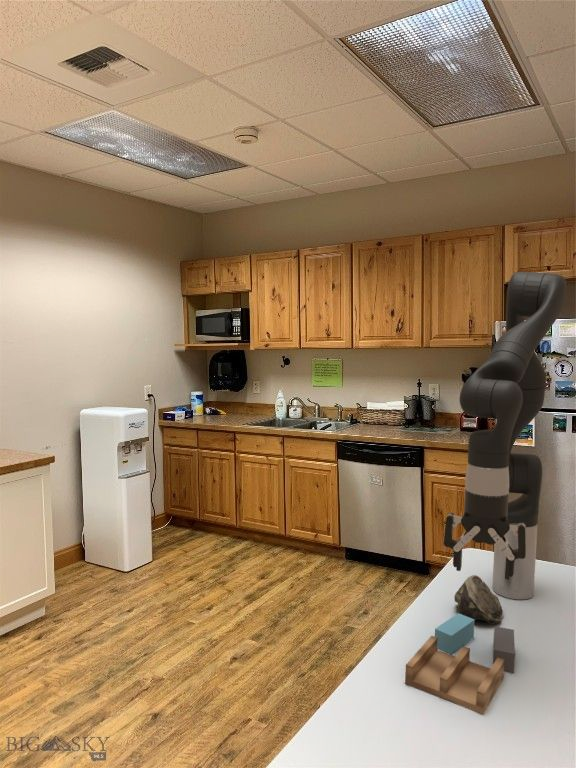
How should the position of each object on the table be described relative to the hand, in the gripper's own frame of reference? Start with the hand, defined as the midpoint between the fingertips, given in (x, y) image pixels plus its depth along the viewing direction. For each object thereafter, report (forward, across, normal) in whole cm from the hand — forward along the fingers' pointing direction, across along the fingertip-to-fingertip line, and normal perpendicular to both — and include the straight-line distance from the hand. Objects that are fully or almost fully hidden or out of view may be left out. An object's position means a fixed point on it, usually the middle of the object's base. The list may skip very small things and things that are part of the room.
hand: (482, 573), depth 108 cm
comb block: (+17, -3, -8) cm, 19 cm away
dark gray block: (+17, +4, +3) cm, 18 cm away
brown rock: (+18, -2, +18) cm, 25 cm away
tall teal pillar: (+17, -5, +5) cm, 19 cm away
